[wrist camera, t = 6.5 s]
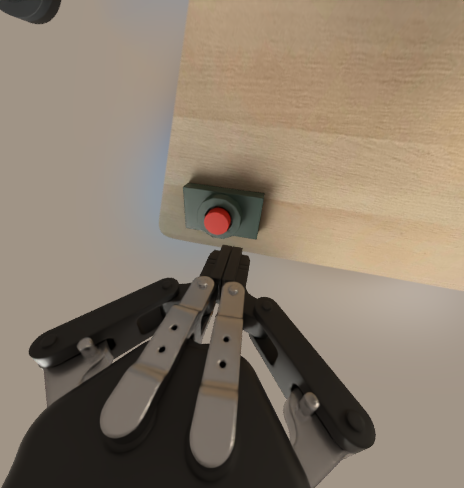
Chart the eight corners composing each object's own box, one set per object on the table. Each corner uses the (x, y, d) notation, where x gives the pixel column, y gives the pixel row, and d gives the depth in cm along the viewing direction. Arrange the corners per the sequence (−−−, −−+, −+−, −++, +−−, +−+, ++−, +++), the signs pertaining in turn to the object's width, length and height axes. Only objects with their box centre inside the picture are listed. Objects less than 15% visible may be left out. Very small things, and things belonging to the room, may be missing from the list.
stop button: (207, 227, 30) (203, 232, 28) (207, 205, 28) (203, 210, 26) (230, 230, 29) (227, 236, 28) (231, 209, 27) (229, 214, 26)
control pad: (190, 222, 34) (181, 233, 31) (188, 182, 30) (177, 190, 27) (257, 232, 33) (255, 246, 30) (264, 193, 29) (263, 203, 26)
